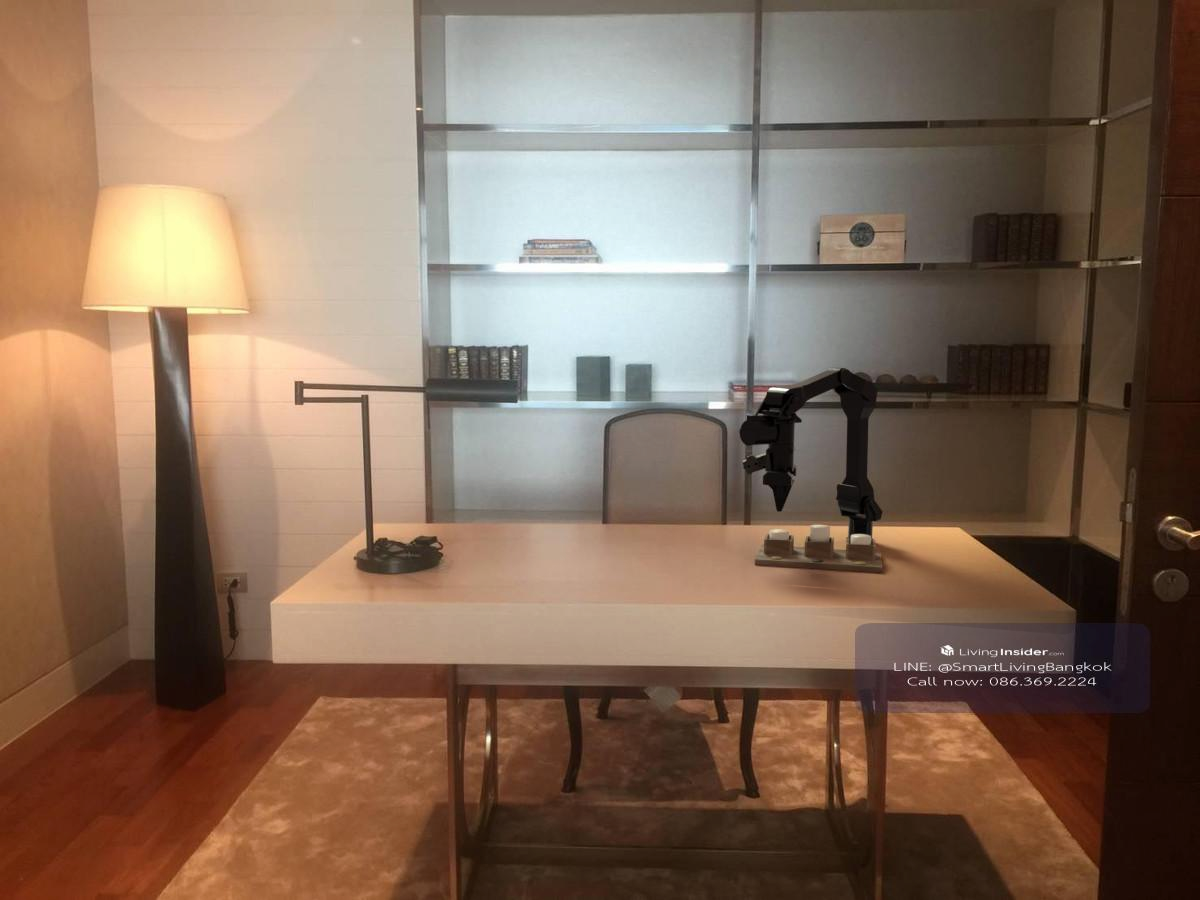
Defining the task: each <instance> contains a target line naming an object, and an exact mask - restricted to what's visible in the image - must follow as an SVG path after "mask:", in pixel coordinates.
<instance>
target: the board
mask: <svg viewBox="0 0 1200 900" xmlns="http://www.w3.org/2000/svg"><path fill="white" fill-rule="evenodd" d="M794 538H795V537H794V534H793V535H791V534H789V540H775V539H769V533H766V534H765V536H764V539H763V544H761V545H760V547H759V549H758V552H757V554H756V556H755V558H754V565H756V566H757V565H759V566H773V567H774V566H775V567H785V568H786V567H787V568H789V567H790V568H802V569H820V570H834V571H835V570H836V571H847V572H849V571H850V572H864V573H866V572H867V573H876V574H877V573H880V574H881V573H883V563H882V552H881V551H876V539H874V540H871V545H860V544H851V539H849V538H847V537H846V538H847V540H846V539H845V541H846V542H845V549H839V548H838V549H837V548H835V542H834V541H835V537H831V536H830V540H829V543H826V542H809V541H810V535H806V536H805V539H804V547H803V546H794V545H795V544H794V542H795V539H794Z"/></svg>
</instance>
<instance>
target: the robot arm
mask: <svg viewBox="0 0 1200 900" xmlns="http://www.w3.org/2000/svg"><path fill="white" fill-rule="evenodd" d="M829 391H833V392H834V393H835V394H836V395H838V396H839V400H840V407H841V409H842V411H843V413H844V414H845V416H846V449H845V450H846V454H845V456H846V457H845V458H846V460H845V461H846V462H845V477H844V478H843V481H842V482H841V483H837V485H836V497H835V500H836V501H837V505H838V507H839V512H840V515H841V517H845V518H848V527H847V528H848V530H847V532H848V533H847V537H846V539H845V541H846V540H847V538H849V539H851V535H853V534H865V535H870V536H871V540H875V539H874V538H873V527H874V524H873V523H874V522H878V521H880V520H882V516H883V510H882V508H881V506H880V505H879V504H878V503H877V501H876V500H875V492H874V487H873V485H872V483H871V482H870V480H869V477H868V462H869V461H868V458H869V457H868V455H869V451H868V450H869V418H870V417H871V415H872V413H873V412H874V410H875V409H876V407H877V406H876V404H877V399H878V398H877V397H878V389H877V386H876V385H875V384H874V383H873V382H872V381H868V380H867V379H865V378H863V377H861V376H859V375H857V374H855V373H853V372H851V370H849V369H847V367H846V368H845V367H834V366H833V367H830V368H827V369H826V370H825V371H822V372H820V373H818V374H815V375H813V376H812V377H808V378H806V379H804V380H802V381H799V382H797V383H795V384H787V385H786V384H785V385H779V386H773V387H770V388H769V389H768V390H766V395H765V396H764V398H763V400H762V402H761V404H760V405H759V407H758V409H757V411H756V412H755V414H747V415H746V419H745V420H744V421H743V422H742V424H741V426H740V428H739V438H740V440H741V442H742V444H744V445H745V446H747V447H750V446H751V447H752V446H763V445H764V446H765V445H767V448H766V449H765V453H761V454H759V455H758V454H757V455H755V454H752V455H749V456H748V455H747V456H746V459H744V460H742V461H741V462H742V468H743V470H744V471H745V472H744V473H745V474H746V476H748V475H749V476H750V475H751V474H753V473H754V472H759V471H761V470H765V471H764V472H765V473H764V474H763V475H762V485H764V486H768V487H769V488H770V489H771V490H772V493H773V500H774V504H775V509H776V512H782V511H783V508H784V506H785V504H786V502H787V499H788V497H789V495H790V493H791V490H792V487H793V485H794V482H795V479H793V477H796V476H797V471H798V467H797V465H795V462H794V461H795V460H794V458H795V457H794V456H795V449H796V448H795V427H796V426H795V424H800V423H802V421H803V420H802V419H801V418H800V417H799V416H798V414H797V412H798V411H800V410H801V409H802V408H804V407H805V405H806V404H807V402H809V400H812V399H814V398H816V397H818V396H820V395H822V394H824V393H826V392H829Z"/></svg>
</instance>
